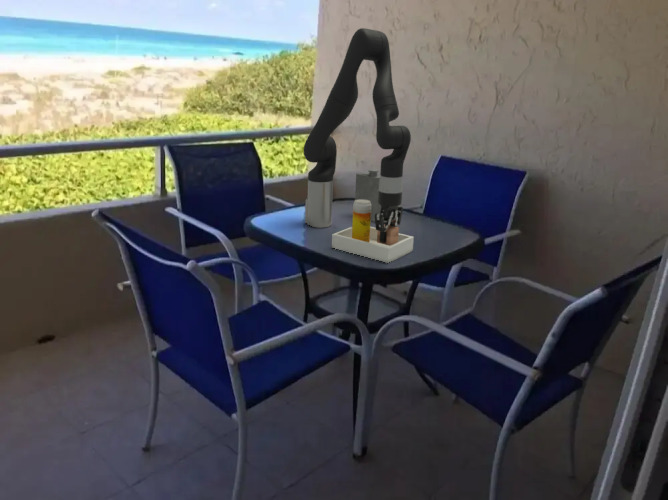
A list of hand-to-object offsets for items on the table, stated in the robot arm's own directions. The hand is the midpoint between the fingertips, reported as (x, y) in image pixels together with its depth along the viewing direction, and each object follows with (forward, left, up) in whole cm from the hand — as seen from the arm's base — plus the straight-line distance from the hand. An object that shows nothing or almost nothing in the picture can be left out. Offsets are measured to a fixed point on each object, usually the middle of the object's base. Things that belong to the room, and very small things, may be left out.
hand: (387, 240), depth 190 cm
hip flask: (-26, +30, -5) cm, 40 cm away
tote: (-6, 0, -5) cm, 7 cm away
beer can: (-11, 0, -4) cm, 11 cm away
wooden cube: (0, 0, -1) cm, 1 cm away
